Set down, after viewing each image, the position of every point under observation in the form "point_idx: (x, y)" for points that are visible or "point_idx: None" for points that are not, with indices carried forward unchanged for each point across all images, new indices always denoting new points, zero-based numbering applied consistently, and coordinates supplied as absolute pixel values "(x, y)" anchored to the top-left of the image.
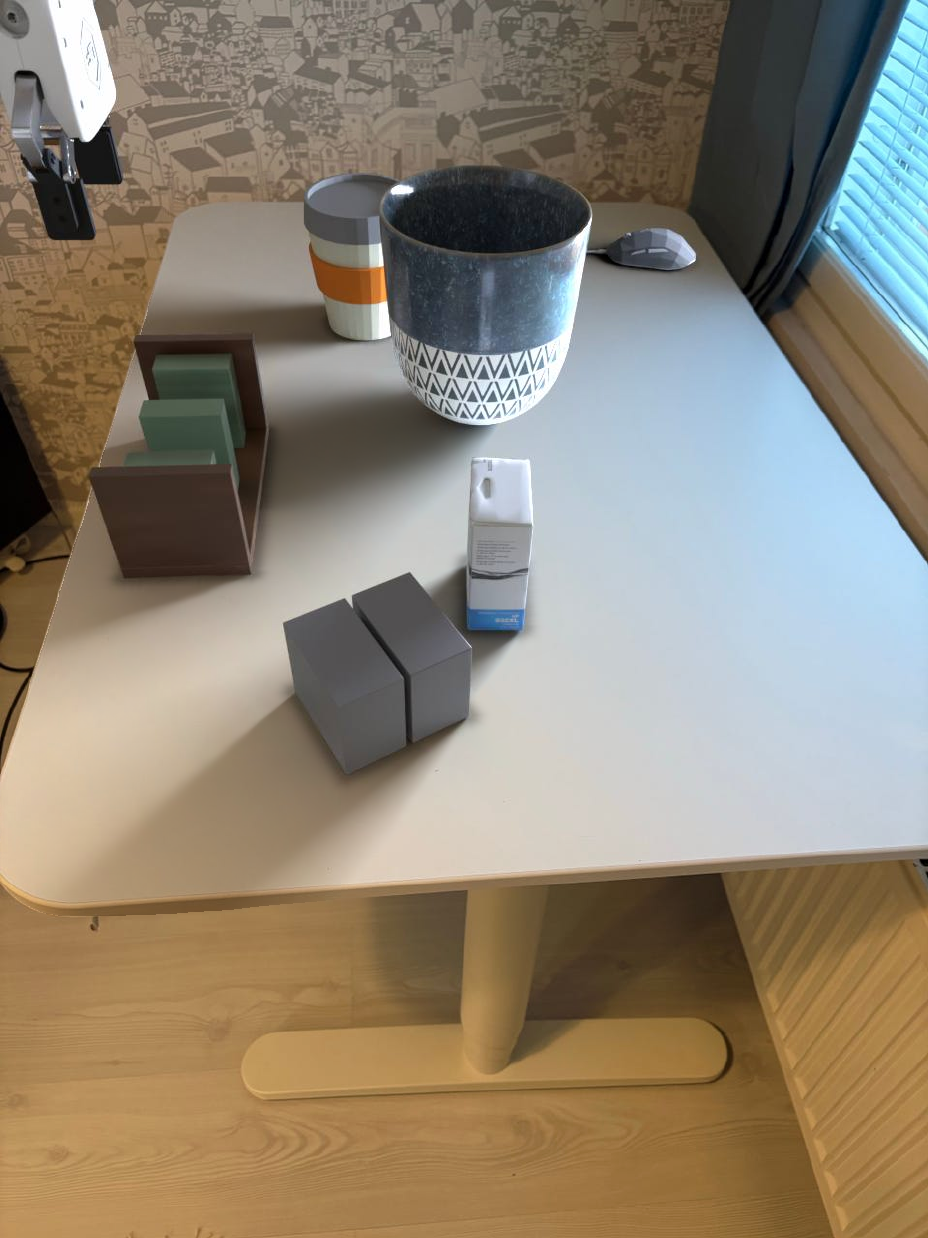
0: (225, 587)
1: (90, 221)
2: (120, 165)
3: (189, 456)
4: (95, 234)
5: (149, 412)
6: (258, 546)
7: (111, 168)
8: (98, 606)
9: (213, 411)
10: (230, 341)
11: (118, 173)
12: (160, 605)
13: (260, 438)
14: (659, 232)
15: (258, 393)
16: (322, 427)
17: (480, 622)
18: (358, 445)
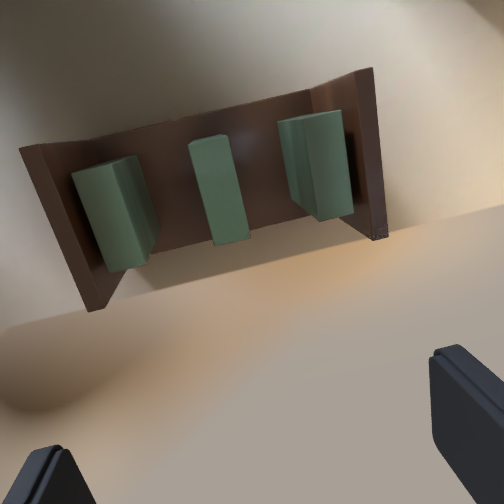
0: None
1: (489, 372)
2: (13, 490)
3: (320, 144)
4: (454, 346)
5: (240, 228)
6: (277, 92)
7: (55, 501)
8: None
9: (220, 148)
10: (54, 178)
11: (50, 471)
12: None
13: (113, 140)
14: None
15: (75, 144)
16: (50, 74)
17: None
18: (72, 13)
